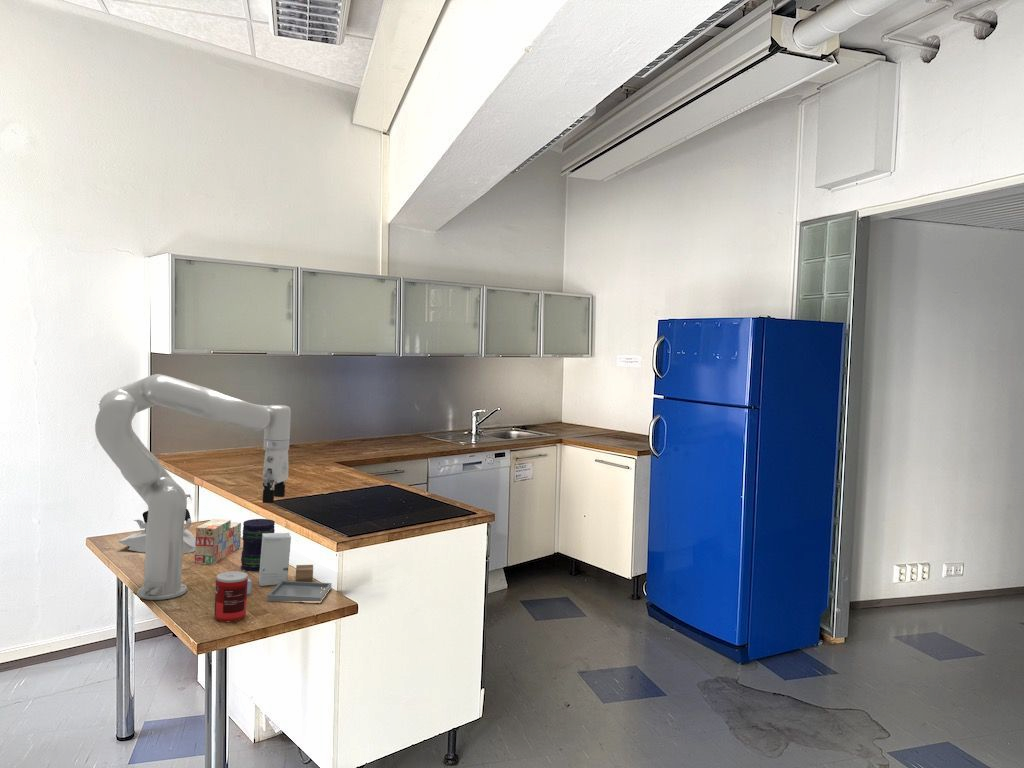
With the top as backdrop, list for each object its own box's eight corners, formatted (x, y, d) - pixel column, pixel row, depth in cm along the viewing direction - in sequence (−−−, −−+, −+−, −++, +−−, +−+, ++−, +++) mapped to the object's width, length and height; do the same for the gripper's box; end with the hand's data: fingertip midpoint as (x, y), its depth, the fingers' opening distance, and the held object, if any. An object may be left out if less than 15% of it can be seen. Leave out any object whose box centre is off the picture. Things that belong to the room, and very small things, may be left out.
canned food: (227, 609, 181) (229, 569, 181) (252, 614, 179) (254, 573, 179) (207, 619, 174) (209, 577, 173) (232, 624, 171) (234, 581, 171)
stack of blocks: (223, 547, 240) (225, 513, 240) (240, 548, 240) (242, 514, 240) (194, 563, 219) (196, 526, 219) (212, 565, 219) (214, 527, 219)
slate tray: (320, 604, 189) (320, 597, 189) (266, 601, 189) (267, 595, 189) (331, 589, 202) (331, 583, 202) (281, 586, 202) (281, 580, 202)
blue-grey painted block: (250, 594, 194) (251, 580, 194) (236, 596, 192) (237, 583, 192) (242, 586, 200) (242, 573, 200) (228, 588, 198) (229, 575, 198)
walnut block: (312, 585, 205) (313, 569, 205) (295, 586, 203) (296, 569, 203) (312, 580, 210) (313, 564, 210) (295, 580, 208) (296, 565, 208)
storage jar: (275, 570, 217) (278, 524, 217) (243, 573, 212) (246, 526, 212) (269, 561, 226) (271, 517, 225) (238, 564, 221) (240, 519, 220)
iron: (134, 543, 238) (136, 502, 237) (203, 547, 239) (205, 505, 239) (117, 552, 227) (120, 508, 227) (190, 555, 228) (193, 511, 228)
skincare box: (259, 586, 201) (262, 537, 201) (258, 580, 206) (261, 532, 206) (288, 584, 204) (291, 536, 204) (286, 578, 210) (289, 531, 209)
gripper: (278, 448, 199) (276, 506, 199) (297, 442, 216) (294, 495, 216) (253, 447, 199) (250, 504, 199) (274, 441, 216) (271, 493, 216)
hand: (273, 499), depth 208 cm, fingers open, 9 cm apart
